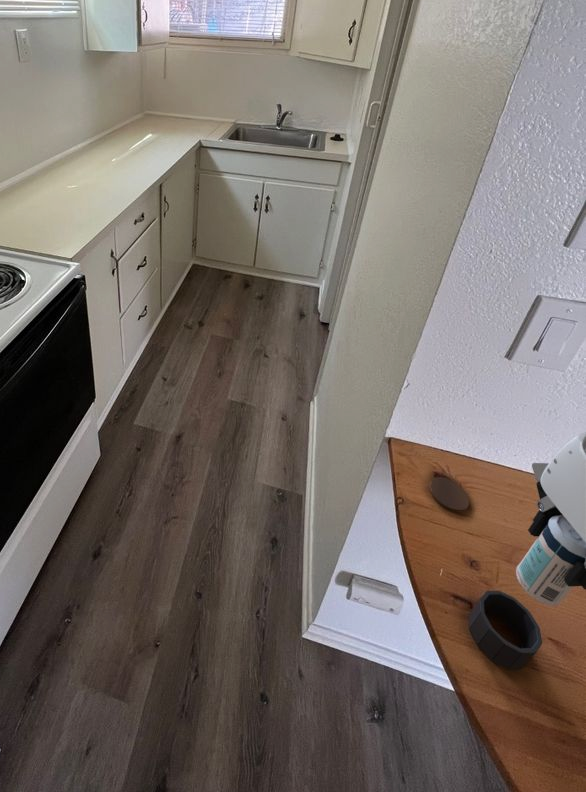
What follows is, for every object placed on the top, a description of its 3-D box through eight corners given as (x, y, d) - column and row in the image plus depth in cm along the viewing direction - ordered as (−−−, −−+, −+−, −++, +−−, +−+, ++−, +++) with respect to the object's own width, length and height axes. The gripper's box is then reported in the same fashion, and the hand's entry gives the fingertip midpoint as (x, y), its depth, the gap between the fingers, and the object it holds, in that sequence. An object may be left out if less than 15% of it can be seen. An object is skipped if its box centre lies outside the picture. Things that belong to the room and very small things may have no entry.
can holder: (503, 607, 64) (516, 589, 62) (539, 669, 58) (555, 652, 56) (458, 608, 64) (469, 591, 62) (489, 670, 58) (503, 653, 55)
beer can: (569, 598, 54) (615, 543, 48) (545, 614, 52) (589, 560, 47) (529, 559, 58) (567, 504, 52) (505, 573, 56) (542, 519, 51)
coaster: (454, 478, 83) (455, 476, 82) (475, 511, 77) (477, 509, 77) (422, 479, 82) (423, 477, 82) (441, 512, 77) (442, 510, 77)
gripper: (773, 546, 36) (659, 645, 44) (594, 394, 51) (535, 489, 60) (688, 548, 36) (590, 647, 44) (533, 395, 51) (482, 490, 59)
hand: (559, 556), depth 52 cm, fingers closed on beer can, 4 cm apart
